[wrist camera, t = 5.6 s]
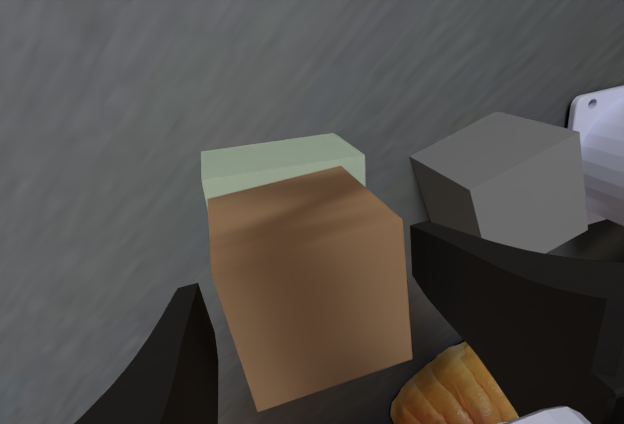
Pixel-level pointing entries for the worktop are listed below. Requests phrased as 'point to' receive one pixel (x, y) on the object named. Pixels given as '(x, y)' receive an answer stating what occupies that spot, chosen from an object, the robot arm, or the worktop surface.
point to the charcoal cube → (506, 182)
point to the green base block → (276, 163)
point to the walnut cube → (310, 283)
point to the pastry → (452, 393)
